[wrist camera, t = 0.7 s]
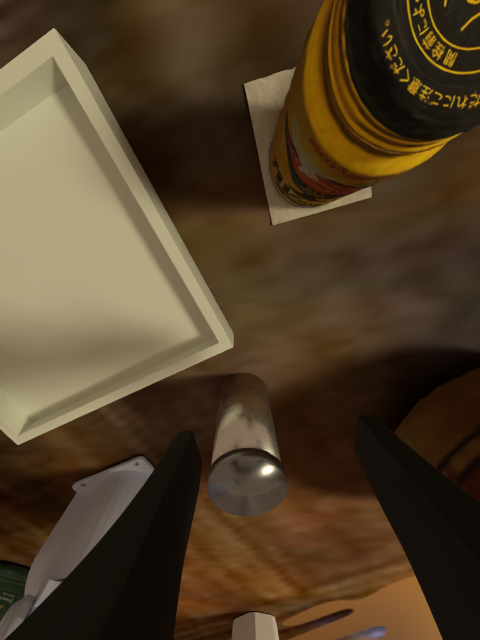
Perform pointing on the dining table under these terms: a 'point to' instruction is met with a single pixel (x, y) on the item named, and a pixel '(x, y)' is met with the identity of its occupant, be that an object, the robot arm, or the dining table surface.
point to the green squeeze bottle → (11, 586)
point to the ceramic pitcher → (449, 430)
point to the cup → (255, 627)
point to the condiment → (365, 100)
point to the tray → (84, 255)
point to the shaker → (245, 450)
